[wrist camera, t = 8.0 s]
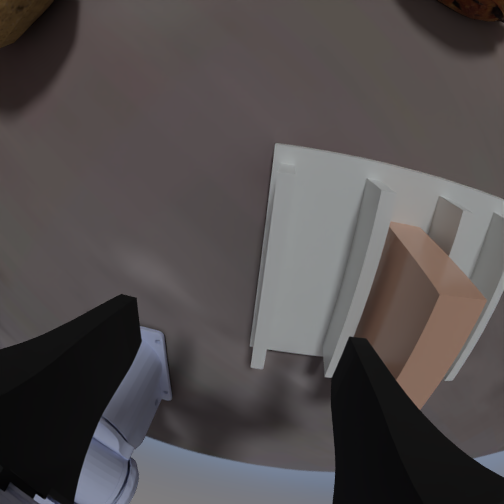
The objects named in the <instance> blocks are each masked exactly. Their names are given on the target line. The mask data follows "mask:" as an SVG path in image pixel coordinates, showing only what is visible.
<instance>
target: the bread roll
mask: <svg viewBox="0 0 504 504" xmlns="http://www.w3.org/2000/svg"><path fill="white" fill-rule="evenodd" d="M437 1H439V2H441V3H443V4H444V5H446V6H447V7H449V8H451V9H453V10H454V11H456V12H458V13H460V14H462V15H464V16H466V17H469V18H472V19H478V20H483V21H496V20H497V21H501V22H503V23H504V0H437Z"/></svg>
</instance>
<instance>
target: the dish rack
mask: <svg viewBox="0 0 504 504" xmlns="http://www.w3.org/2000/svg"><path fill="white" fill-rule="evenodd" d="M390 221H392V222H397V223H402V224H407V225H412V226H417V227H420V228H421V229H422V230H423V231H424V232H425V233H426V234H427V235H428V236H429V237H430V238H431V239H432V240H433V241H434V242H435V243H436V244H437V245H438V246H439V247H440V248H441V249H442V250H443V251H444V252H445V253H446V254H447V255H448V256H449V257H450V258H451V259H452V260H453V261H454V263H455V264H456V265H457V266H458V267H459V268H460V269H461V270H462V271H463V272H464V274H465V275H466V276H467V277H468V278H469V279H470V280H471V282H472V283H473V284H474V285H475V286H476V287H477V289H478V290H479V291H480V292H481V293H482V295H483V296H484V297H485V298H486V299H487V302H486V304H485V306H484V308H483V310H482V312H481V314H480V316H479V318H478V320H477V322H476V324H475V326H474V328H473V329H472V331H471V333H470V335H469V337H468V338H467V340H466V342H465V344H464V345H463V347H462V349H461V351H460V352H459V354H458V356H457V357H456V359H455V360H454V362H453V364H452V365H451V367H450V368H449V370H448V371H447V373H446V374H445V376H444V377H443V378H444V380H445V381H451V380H453V379H454V377H455V376H456V375H457V373H458V372H459V370H460V369H461V367H462V366H463V364H464V362H465V361H466V359H467V358H468V356H469V354H470V353H471V351H472V350H473V348H474V346H475V345H476V343H477V341H478V339H479V338H480V336H481V334H482V332H483V331H484V329H485V327H486V325H487V323H488V321H489V319H490V317H491V315H492V313H493V312H494V310H495V307H496V305H497V303H498V301H499V299H500V297H501V295H502V293H503V290H504V199H502V198H500V197H497V196H494V195H492V194H489V193H486V192H483V191H481V190H478V189H475V188H472V187H469V186H466V185H463V184H460V183H457V182H454V181H451V180H447V179H444V178H441V177H437V176H434V175H431V174H427V173H423V172H420V171H416V170H412V169H409V168H405V167H401V166H397V165H393V164H389V163H385V162H380V161H376V160H371V159H367V158H362V157H357V156H353V155H348V154H342V153H337V152H332V151H326V150H320V149H314V148H308V147H302V146H295V145H288V144H281V143H276V144H275V150H274V158H273V166H272V175H271V183H270V191H269V199H268V207H267V215H266V224H265V232H264V239H263V247H262V255H261V263H260V271H259V279H258V286H257V294H256V302H255V309H254V317H253V324H252V332H251V339H250V347H253V354H252V361H251V368H257V369H263V367H264V362H265V356H266V351H267V349H268V350H275V351H282V352H289V353H297V354H305V355H313V356H322V357H323V360H324V377H329V378H332V376H333V374H334V371H335V369H336V367H337V364H338V362H339V360H340V358H341V355H342V353H343V350H344V348H345V346H346V343H347V341H348V338H349V336H350V337H354V334H355V332H356V329H357V326H358V324H359V321H360V318H361V316H362V313H363V310H364V307H365V304H366V301H367V299H368V296H369V293H370V290H371V287H372V284H373V280H374V277H375V274H376V271H377V268H378V264H379V261H380V258H381V254H382V251H383V247H384V244H385V240H386V237H387V233H388V229H389V225H390Z"/></svg>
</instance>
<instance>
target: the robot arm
mask: <svg viewBox="0 0 504 504" xmlns="http://www.w3.org/2000/svg"><path fill="white" fill-rule="evenodd" d="M158 340H159V341H158ZM162 399H164V400H167V401H170V400H171V399H172V391H171V384H170V377H169V370H168V362H167V354H166V346H165V337H164V334H163V333H162V332H161V331H158V330H154V329H150V328H146V327H142V326H140V323H139V316H138V307H137V298H135V297H131V296H127V295H123V294H121V295H119V296H116V297H114V298H112V299H110V300H109V301H107V302H105V303H103V304H101V305H99V306H98V307H96V308H94V309H92V310H90V311H88V312H87V313H85V314H83V315H81V316H79V317H77V318H76V319H74V320H72V321H70V322H68V323H66V324H64V325H62V326H60V327H58V328H56V329H54V330H52V331H50V332H47V333H45V334H43V335H41V336H38V337H36V338H33V339H31V340H28V341H25V342H23V343H20V344H17V345H13V346H10V347H7V348H3V349H0V504H129V503H130V501H131V500H132V498H133V496H134V494H135V491H136V488H137V485H138V479H139V473H138V469H137V464H136V461H135V460H134V459H133V458H131V455H132V452H133V450H134V449H136V448H137V447H138V446H139V445H140V444H141V443H142V442H143V440H144V438H145V436H146V433H147V431H148V429H149V427H150V424H151V422H152V420H153V418H154V415H155V413H156V411H157V409H158V406H159V404H160V402H161V400H162ZM331 411H332V422H333V433H334V446H335V467H336V469H335V485H334V495H333V504H504V477H502V476H500V475H498V474H496V473H495V472H493V471H491V470H489V469H488V468H486V467H484V466H483V465H481V464H480V463H478V462H477V461H475V460H474V459H473V458H471V457H470V456H468V455H467V454H466V453H464V452H463V451H462V450H461V449H459V448H458V447H457V446H456V445H455V444H453V443H452V442H451V441H450V440H449V439H448V438H447V437H445V436H444V435H443V434H442V433H441V432H440V431H439V430H438V429H437V428H436V427H435V426H434V425H433V424H432V423H431V422H430V421H429V420H428V419H427V418H426V416H425V415H424V414H423V413H422V412H421V411H420V410H419V409H418V407H417V406H416V405H415V404H414V403H413V401H412V400H411V399H410V398H409V396H408V395H407V394H406V393H405V391H404V390H403V389H402V387H401V386H400V385H399V383H398V382H397V381H396V379H395V378H394V377H393V375H392V374H391V372H390V371H389V370H388V368H387V367H386V365H385V364H384V363H383V361H382V360H381V358H380V357H379V355H378V354H377V353H376V351H375V350H374V348H373V347H372V345H371V344H370V343H369V341H368V340H367V339H366V338H359V337H350V336H349V338H348V341H347V343H346V346H345V348H344V350H343V353H342V355H341V358H340V360H339V362H338V364H337V367H336V369H335V371H334V374H333V376H332V383H331Z"/></svg>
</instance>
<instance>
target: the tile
mask: <svg viewBox="0 0 504 504" xmlns="http://www.w3.org/2000/svg"><path fill="white" fill-rule="evenodd" d="M486 302H487V299H486V298H485V297H484V296H483V295H482V293H481V292H480V291H479V290H478V289H477V287H476V286H475V285H474V284H473V283H472V282H471V280H470V279H469V278H468V277H467V276H466V275H465V274H464V272H463V271H462V270H461V269H460V268H459V267H458V266H457V265H456V264H455V263H454V261H453V260H452V259H451V258H450V257H449V256H448V255H447V254H446V253H445V252H444V251H443V250H442V249H441V248H440V247H439V246H438V245H437V244H436V243H435V242H434V241H433V240H432V239H431V238H430V237H429V236H428V235H427V234H426V233H425V232H424V231H423V230H422V229H421V228H420V227H417V226H412V225H407V224H402V223H397V222H392V221H390V225H389V229H388V233H387V237H386V240H385V244H384V247H383V251H382V254H381V258H380V261H379V264H378V268H377V271H376V274H375V277H374V280H373V284H372V287H371V290H370V293H369V296H368V299H367V301H366V304H365V307H364V310H363V313H362V316H361V318H360V321H359V324H358V326H357V329H356V332H355V334H354V337H359V338H366V339H367V340H368V341H369V343H370V344H371V345H372V347H373V348H374V350H375V351H376V353H377V354H378V355H379V357H380V358H381V360H382V361H383V363H384V364H385V365H386V367H387V368H388V370H389V371H390V372H391V374H392V375H393V377H394V378H395V379H396V381H397V382H398V383H399V385H400V386H401V387H402V389H403V390H404V391H405V393H406V394H407V395H408V396H409V398H410V399H411V400H412V401H413V403H414V404H415V405H416V406H417V407H418V409H419V410H420V409H421V408H422V407H423V405H424V404H425V403H426V401H427V400H428V399H429V397H430V396H431V394H432V393H433V392H434V390H435V389H436V388H437V386H438V385H439V383H440V382H441V380H442V379H443V377H444V376H445V374H446V373H447V371H448V370H449V368H450V367H451V365H452V364H453V362H454V360H455V359H456V357H457V356H458V354H459V352H460V351H461V349H462V347H463V345H464V344H465V342H466V340H467V338H468V337H469V335H470V333H471V331H472V329H473V328H474V326H475V324H476V322H477V320H478V318H479V316H480V314H481V312H482V310H483V308H484V306H485V304H486Z"/></svg>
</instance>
